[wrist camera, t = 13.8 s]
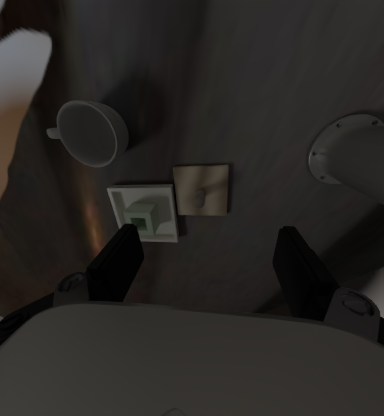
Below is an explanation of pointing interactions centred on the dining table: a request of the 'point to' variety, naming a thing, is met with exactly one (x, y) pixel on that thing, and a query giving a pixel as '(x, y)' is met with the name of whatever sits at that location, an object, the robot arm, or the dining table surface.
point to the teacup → (91, 132)
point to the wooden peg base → (201, 189)
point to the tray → (148, 194)
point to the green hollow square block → (143, 211)
